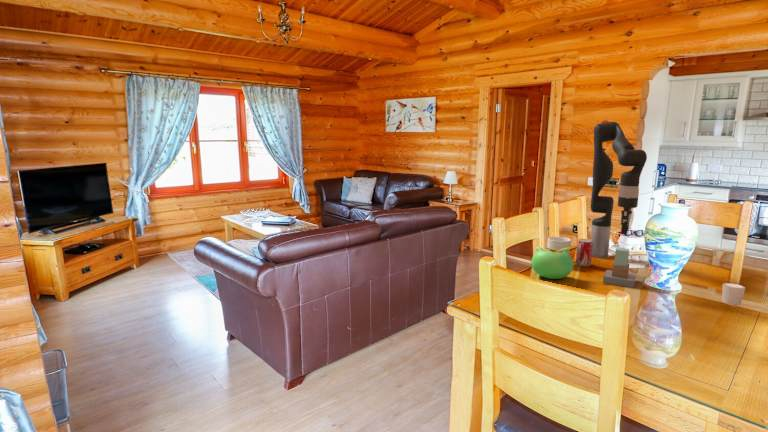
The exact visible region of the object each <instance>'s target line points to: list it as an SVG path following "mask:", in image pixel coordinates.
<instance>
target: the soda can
mask: <svg viewBox="0 0 768 432" xmlns="http://www.w3.org/2000/svg"><path fill="white" fill-rule="evenodd" d="M576 245H577V246H576V255H575V257H576V258H575V264H576V265H577V266H580V267H583V268H584V267H586V268H587V267H590V266H591V265H592V258H593V256H592V248H593V244H592V241H591V239H587V238H586V239H585V238H579V239H578V242H577V244H576Z"/></svg>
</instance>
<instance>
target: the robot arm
mask: <svg viewBox="0 0 768 432" xmlns="http://www.w3.org/2000/svg"><path fill="white" fill-rule="evenodd" d="M606 142H612V144H611V148H612V150H613V152H614V153H615V155H617V162H618V164H619V165H620V166H622V167H632V169H631V170H628V171H624V172H621V175H620V183H619V184H620V185H619V188H618V198H617V207H619V208H623V209H622V210H621V212H620V215H621V216H620V221H621V222H620V225H621V227H620V228H621V229H620V235H627V234H628V231H629V229H630V222H631V219H632V215H633V209H635V208H637V207H638V206H639V205H638V204H639V203H638V202H639V201H638V200H639V195H640V194H639V193H640V189H639V187H640V179H641V175H642V172H643V169H644V167H645V164H646V162H647V159H648V156H647V153H646V151H645V150H644V149H635V147H634V145H633V144H632V143H631V142H630V141H629V140H628V139H627V137H626V135H625V133H624V132H623V129H622V127H621V125H620V124H619V123H618V122H616V121H608V122H601V123H597V124H595V126H594V128H593V163H592V165H593V166H592V190H591V191H592V192H591V198H590V210H591V212H592V213H596V214H604V215H603V216H601V217H597V218H593V219H592V222H591V232H590V240H591V241H592V244H593V248H592V258H593V257H594V258H598V259H599V258H608V257H609V249H610V237H611V229H612V228H611V227H612V216H613V210H614V209H613V208H614V201H615V200H614V198H613V196H609V195H607V196H604V195H599V194H600V193H601V190H602V189H603V188H604V187H605V186H606V185H607V184H608V183H609V182H610V180H611V179H612V178H613V175H614V163H613V161H612V159H611V158H610V157H609V155H608V154H607V153H606V151H605V150H604V147H603V143H606ZM632 208H633V209H632Z"/></svg>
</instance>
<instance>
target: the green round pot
mask: <svg viewBox="0 0 768 432" xmlns="http://www.w3.org/2000/svg"><path fill="white" fill-rule="evenodd" d="M571 249H573V247H572V246H570V247H567V248H563V249H553V248H547V247H546V248H542V247H540V246H536V252H535V253H534V254H533V256H532V258H531V262H530V263H531V267H532V270H533V271H534V272H535V273H536V274H537V275H538V276H541V277H543V278H546V279H552V280H558V279H559V280H560V279H565V278H566V277H568V276H569V275H570V274H571V273H572V272H573V269H574V261H573V258H572V256H571V255H570V254H567V252H568V251H569V250H570V251H571Z"/></svg>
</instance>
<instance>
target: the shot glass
mask: <svg viewBox="0 0 768 432" xmlns="http://www.w3.org/2000/svg"><path fill="white" fill-rule="evenodd" d="M745 291H746V287H745V286H743V285H742V284H738V283H737V284H736V283H732V282H731V283H730V282H724V283H722V293H721V296H722V297H721V298H722V299H721V301H722V302H723V303H724V304H727V305H731V306H741V305H742V302H743V298H744V295H745Z"/></svg>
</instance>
